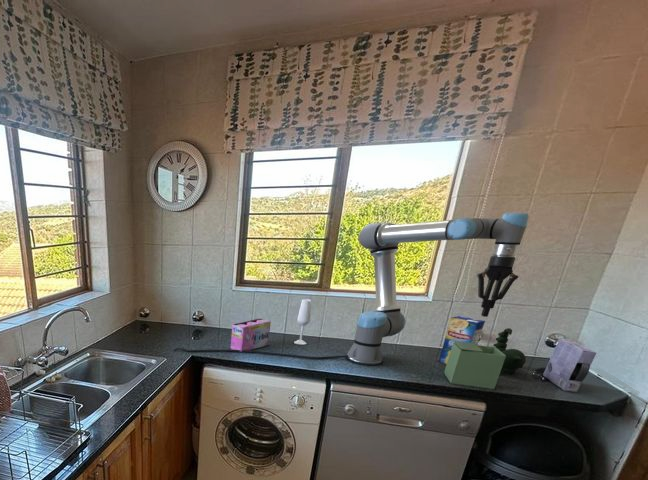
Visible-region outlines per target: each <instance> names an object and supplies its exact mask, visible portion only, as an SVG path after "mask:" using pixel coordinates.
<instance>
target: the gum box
mask: <svg viewBox="0 0 648 480" xmlns="http://www.w3.org/2000/svg"><path fill="white" fill-rule="evenodd" d="M271 322H272V321H271V320H264V319H263V318H255V319H251V320H246V321H243V322H237V323H232V325H231V326H232V327H231V337H230V347H229V350H240V351H241V352H240V353H243V352H242V350H250V351H253V350H255V349H259V348H262V347H263V348H264V347H267V346H269V345H270V343H269V342H270V334H271Z"/></svg>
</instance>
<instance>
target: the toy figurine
mask: <svg viewBox="0 0 648 480" xmlns="http://www.w3.org/2000/svg"><path fill="white" fill-rule="evenodd" d="M512 334H513V329H512V328H510V327H508V328H507V327H506V328H505V329H503V331H501V332H498V333H497V335H498V337H496V338H495V341H496V343H494V344H493V346H492V347H496V348H497V349H498V350H499V351H501V352H502V353H503V354H504V355H506V357H505V360H504V363H503V366H502V372H503V374H507V375H513V374H515V372H516V370H518V369H522V368H523V366H524V365H525V363H526V361H527V359H526V355H525V354H524V352H522V351H521V350H520V349H516V348H508V344H507V343H508V342H509V336H511V335H512Z"/></svg>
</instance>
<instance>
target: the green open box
mask: <svg viewBox="0 0 648 480" xmlns="http://www.w3.org/2000/svg"><path fill="white" fill-rule="evenodd" d="M477 346H478V347H479V348H480V349H481V350H483V352H481V353H478V352H477V351H472V352H471V351H467V350H461V349H460V348H459V347H458V346H457V345H456V344H455V343H453V345H452V348H451V352H450V355H449V358H448V362H447V364H445V365H446V366H445V368H444V372H443V374H444V375H445V376H446V379H447V380H448V382H449V383H450V384H453V385H460V386H468V387H474V388H475V387H476V388H483V389H492V390H495V388H496V386H497V382H498V380H499V377H500V374H501V372H502V370H503V368H502V366H503V363H504V360H505V357H506V355H504V354H503V353H502V352H501V351H499V350H498V349H497V348H496V347H495V346H490V345H480V344H479V345H477Z"/></svg>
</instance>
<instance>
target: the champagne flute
mask: <svg viewBox="0 0 648 480" xmlns="http://www.w3.org/2000/svg"><path fill="white" fill-rule="evenodd" d="M298 310H299V311H298V314H297V319H296V321H297V323H298V324H299V325H300V326H301V328H300V335H299V339H297V340H295V341H293V343H294V344H296V345H307V344H308V343H307V342H306V341H305V340H303V334H304V330H305V329H304V328H305V326H307V325H308V324H309V323H310V322H311V314H312V313H311V312H312V300H311V299H308V298H304V299H301V303H300V307H299V309H298Z"/></svg>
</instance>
